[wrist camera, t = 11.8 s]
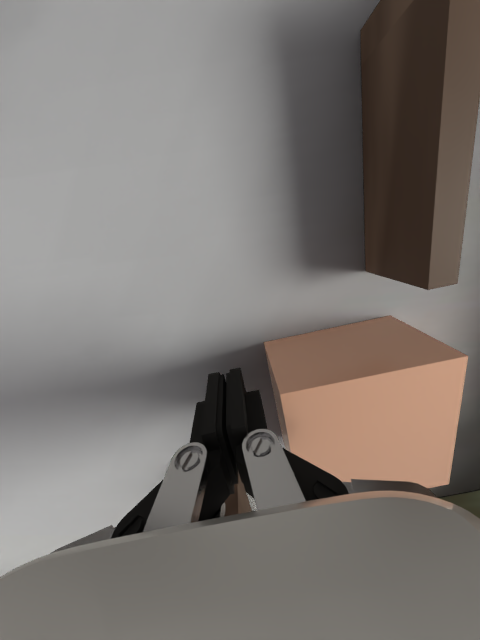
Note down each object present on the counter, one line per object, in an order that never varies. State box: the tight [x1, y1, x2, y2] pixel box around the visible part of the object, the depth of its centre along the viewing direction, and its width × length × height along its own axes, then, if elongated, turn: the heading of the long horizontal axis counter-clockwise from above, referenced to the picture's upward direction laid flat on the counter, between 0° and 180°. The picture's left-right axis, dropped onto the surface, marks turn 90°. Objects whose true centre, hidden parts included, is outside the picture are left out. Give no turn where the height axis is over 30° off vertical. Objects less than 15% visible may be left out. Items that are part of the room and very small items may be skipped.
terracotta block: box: [264, 316, 468, 488], centre depth 12 cm, size 7×7×4 cm
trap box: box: [224, 0, 480, 519], centre depth 11 cm, size 21×29×6 cm
